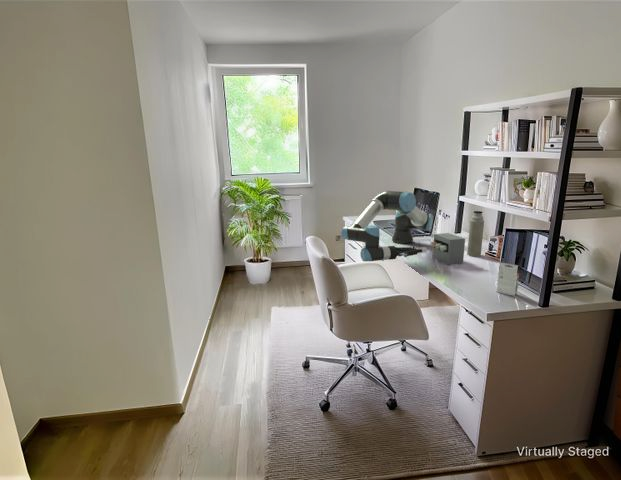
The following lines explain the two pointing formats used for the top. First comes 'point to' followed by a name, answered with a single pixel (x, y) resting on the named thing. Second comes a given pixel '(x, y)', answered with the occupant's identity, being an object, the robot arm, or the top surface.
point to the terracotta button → (434, 244)
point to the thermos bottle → (475, 234)
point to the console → (449, 248)
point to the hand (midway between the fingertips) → (425, 249)
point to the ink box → (507, 279)
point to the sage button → (443, 247)
